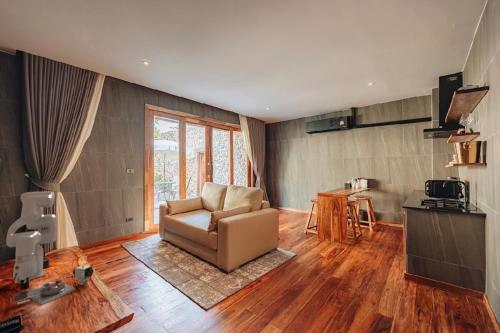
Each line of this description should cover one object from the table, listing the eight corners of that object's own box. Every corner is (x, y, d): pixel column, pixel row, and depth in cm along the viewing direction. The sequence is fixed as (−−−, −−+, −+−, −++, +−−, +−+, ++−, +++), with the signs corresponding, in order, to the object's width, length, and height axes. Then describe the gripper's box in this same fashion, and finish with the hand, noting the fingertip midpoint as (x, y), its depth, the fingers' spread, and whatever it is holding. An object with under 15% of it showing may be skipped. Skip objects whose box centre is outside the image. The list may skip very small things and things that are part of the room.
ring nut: (13, 306, 114) (13, 298, 114) (13, 298, 122) (13, 291, 122) (66, 290, 130) (66, 283, 130) (63, 284, 138) (63, 277, 138)
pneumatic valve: (87, 286, 138) (87, 267, 138) (72, 284, 140) (72, 266, 141) (94, 282, 143) (95, 264, 144) (80, 280, 146) (80, 262, 146)
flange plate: (14, 303, 121) (14, 300, 121) (62, 284, 140) (62, 282, 141) (26, 310, 114) (26, 308, 114) (75, 290, 133) (75, 287, 133)
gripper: (20, 262, 117) (19, 296, 117) (43, 251, 132) (42, 281, 132) (4, 263, 116) (4, 297, 116) (29, 252, 131) (29, 282, 131)
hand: (24, 288), depth 124 cm, fingers closed
